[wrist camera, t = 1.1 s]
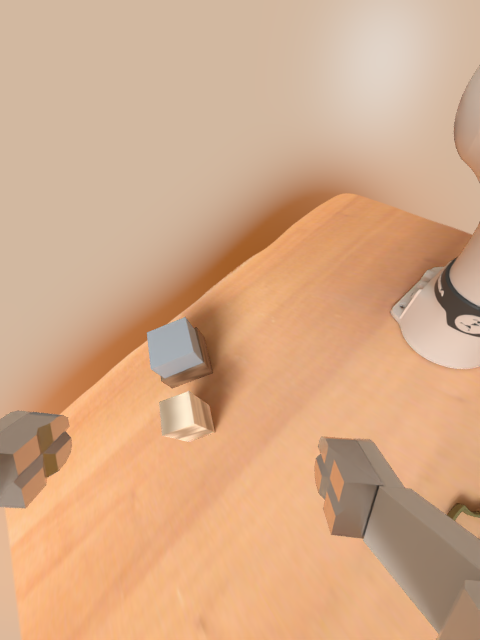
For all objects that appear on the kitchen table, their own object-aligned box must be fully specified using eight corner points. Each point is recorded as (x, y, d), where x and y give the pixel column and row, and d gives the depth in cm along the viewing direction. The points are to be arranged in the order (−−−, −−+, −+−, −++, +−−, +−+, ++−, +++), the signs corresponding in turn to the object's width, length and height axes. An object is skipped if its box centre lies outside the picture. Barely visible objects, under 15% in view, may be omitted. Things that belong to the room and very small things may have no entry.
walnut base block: (204, 337, 54) (196, 327, 50) (213, 373, 49) (205, 364, 45) (168, 351, 54) (157, 342, 50) (172, 388, 49) (161, 381, 45)
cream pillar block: (209, 405, 45) (188, 391, 37) (214, 432, 42) (194, 423, 34) (185, 414, 45) (159, 402, 37) (189, 441, 42) (162, 435, 34)
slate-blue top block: (194, 329, 49) (185, 316, 45) (203, 362, 45) (193, 351, 41) (159, 344, 49) (146, 332, 45) (164, 378, 45) (150, 369, 41)
